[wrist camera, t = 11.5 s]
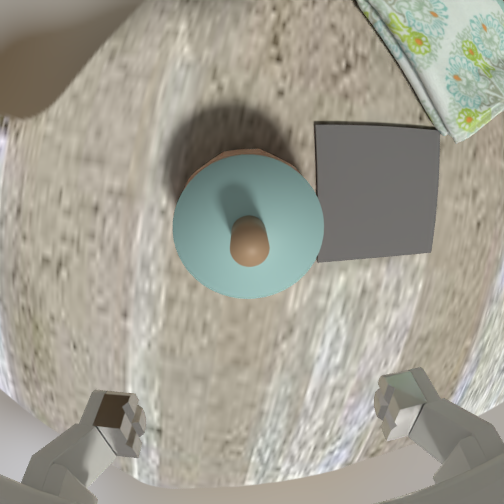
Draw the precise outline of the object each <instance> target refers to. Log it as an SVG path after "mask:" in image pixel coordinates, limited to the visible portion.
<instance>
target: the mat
mask: <svg viewBox="0 0 504 504" xmlns="http://www.w3.org/2000/svg"><path fill="white" fill-rule="evenodd" d="M315 141H316V170H317V197H318V200H319V202H320V205H321V208H322V213H323V219H324V235H323V240H322V245H321V248H320V251H319V253H318V255H317V262H318V263H319V262H331V261H342V260H354V259H366V258H377V257H388V256H399V255H410V254H420V253H431V250H432V243H433V235H434V227H435V218H436V207H437V195H438V180H439V157H440V133H439V131H438V130H429V129H418V128H405V127H389V126H368V125H315Z"/></svg>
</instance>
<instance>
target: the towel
mask: <svg viewBox="0 0 504 504" xmlns="http://www.w3.org/2000/svg"><path fill="white" fill-rule="evenodd" d="M356 1H357V3H358V5H359V7H360V9H361V11H362V12H363V13H364V15H365V16H366V17H367V18H368V20H369V21H370V22H371V24H372V25H373V27H374V28H375V30H376V31H377V32H378V34H379V35H380V36H381V38H382V39H383V41H384V42H385V44H386V46H387V47H388V48H389V50H390V52H391V53H392V55H393V56H394V58H395V59H396V61H397V62H398V64H399V65H400V67H401V68H402V70H403V72H404V74H405V75H406V77H407V78H408V80H409V82H410V84H411V85H412V87H413V89H414V91H415V92H416V94H417V96H418V98H419V100H420V102H421V104H422V106H423V107H424V109H425V111H426V112H427V114H428V116H429V118H430V120H431V121H432V123H433V125H434V126H435V128H436V129H438V131H439V133H440V134H441V135H443V136H446V135H447V134H448V135H450V136H452V137H453V140H454V142H455V143H456V144H457V143H458V142H460V141H464V140H465V139H467V138H469V137H470V136H471V135H473V134H474V133H476V132H477V131H478V130H479V129H480V128H482V127H483V126H484V125H485V124H487V123H488V122H489V121H490V120H492V119H493V118H494V117H495V116H496V115H498V114H499V113H500V112H502V111H503V110H504V2H503V0H356Z"/></svg>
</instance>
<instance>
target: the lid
mask: <svg viewBox="0 0 504 504" xmlns="http://www.w3.org/2000/svg"><path fill="white" fill-rule="evenodd" d="M323 235H324V219H323V213H322V208H321V205H320V202H319V200H318V197H317V195H316V194H315V192H314V190H313V188H312V187H311V186H310V184H309V183H308V182H307V181H306V180H305V179H304V178H303V177H302V176H301V175H300V174H299V173H298V172H297V171H296V170H294V169H293V168H292V167H290V166H289V165H287V164H285V163H283V162H281V161H279V160H276V159H274V158H271V157H267V156H263V155H255V154H241V155H235V156H230V157H227V158H223V159H220V160H218V161H216V162H214V163H212V164H210V165H209V166H207V167H206V168H204V169H203V170H201V171H200V172H199V173H198V174H197V175H196V176H195V177H194V178H193V179H192V180H191V181H190V182H189V183H188V185H187V186H186V188H185V189H184V191H183V192H182V194H181V196H180V198H179V200H178V202H177V205H176V208H175V212H174V218H173V238H174V243H175V247H176V250H177V252H178V255H179V257H180V259H181V261H182V263H183V264H184V266H185V267H186V269H187V270H188V271H189V273H190V274H191V275H192V276H193V277H194V278H195V279H196V280H198V281H199V282H200V283H201V284H203V285H204V286H206V287H207V288H209V289H211V290H213V291H215V292H217V293H220V294H223V295H226V296H229V297H234V298H243V299H252V298H261V297H266V296H270V295H273V294H276V293H278V292H281V291H283V290H285V289H287V288H288V287H290V286H292V285H293V284H294V283H296V282H297V281H298V280H299V279H300V278H302V277H303V276H304V275H305V274H306V272H307V271H308V270H309V269H310V267H311V266H312V264H313V263H314V261H315V260H316V257H317V255H318V253H319V251H320V248H321V245H322V240H323Z"/></svg>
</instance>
